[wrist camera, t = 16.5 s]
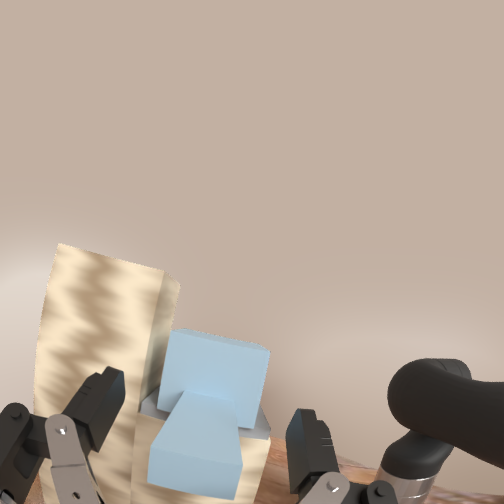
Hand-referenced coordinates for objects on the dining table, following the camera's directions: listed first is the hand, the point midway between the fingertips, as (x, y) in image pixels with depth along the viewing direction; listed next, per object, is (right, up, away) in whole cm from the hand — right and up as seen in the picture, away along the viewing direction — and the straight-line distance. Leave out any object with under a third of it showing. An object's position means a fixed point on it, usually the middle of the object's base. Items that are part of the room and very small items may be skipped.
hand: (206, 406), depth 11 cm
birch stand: (-12, -30, +2) cm, 33 cm away
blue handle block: (-1, -5, +4) cm, 7 cm away
